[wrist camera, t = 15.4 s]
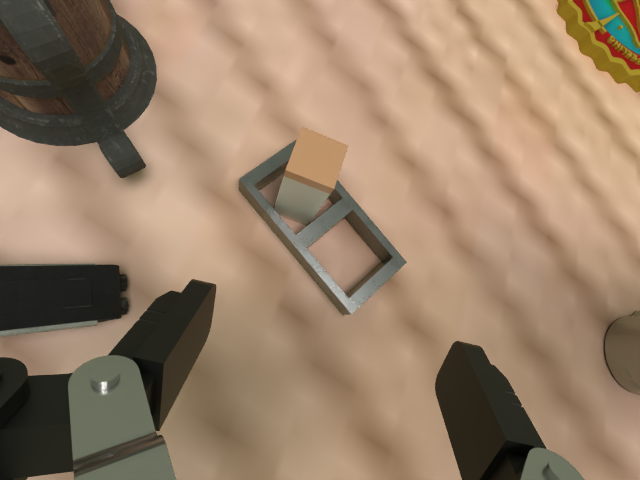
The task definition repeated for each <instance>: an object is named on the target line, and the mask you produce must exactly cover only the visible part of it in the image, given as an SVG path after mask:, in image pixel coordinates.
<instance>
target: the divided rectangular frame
mask: <svg viewBox="0 0 640 480" xmlns="http://www.w3.org/2000/svg"><path fill="white" fill-rule="evenodd" d="M296 141H297V140H295V141H294V142H292V143H291V144H289V145H288V146H287V147H285V148H284V149H282V150H281V151H279V152H278V153H276V154H275V155H273V156H272V157H271V158H269V159H268V160H266V161H265V162H263V163H262V164H260V165H259V166H257V167H256V168H255V169H253V170H252V171H250V172H249V173H247V174H246V175H244V176H243V177H241V178H240V179H239V191H240V192H241V193H242V194H243V196H244V197H245V198H246V199H247V200H248V202H249V203H250V204H251V205H252V206H253V208H254V209H255V210H256V211H257V212H258V214H259V215H260V216H261V217H262V218H263V220H264V221H265V222H266V223H267V224H268V226H269V227H270V228H271V229H272V230H273V232H274V233H275V234H276V235H277V236H278V238H279V239H280V240H281V241H282V242H283V244H284V245H285V246H286V247H287V248H288V250H289V251H290V252H291V253H292V254H293V256H294V257H295V258H296V259H297V260H298V262H299V263H300V264H301V265H302V266H303V268H304V269H305V270H306V271H307V272H308V274H309V275H310V276H311V277H312V278H313V280H314V281H315V282H316V283H317V284H318V286H319V287H320V288H321V289H322V290H323V292H324V293H325V294H326V295H327V296H328V298H329V299H330V300H331V301H332V302H333V304H334V305H335V306H336V307H337V308H338V310H339V311H340V312H341V313H342V314H343V315H350V314H353V313H354V312H355V311H356V310H357V309H358V308H359V307H360V306H361V305H362V304H363V303H364V302H365V301H366V300H367V299H368V298H370V297H371V296H372V295H373V294H374V293H375V292H376V291H377V290H378V289H379V288H380V287H381V286H382V285H383V284H384V283H385V282H386V281H388V280H389V279H390V278H391V277H392V276H393V275H394V274H395V273H396V272H397V271H398V270H399V269H400V268H401V267H402V266H403V265H404V264H406V263H407V262H406V261H405V260H404V258H403V257H402V256H401V255H400V254H399V253H398V251H397V250H396V249H395V248H394V247H393V245H392V244H391V243H390V242H389V241H388V239H387V238H386V237H385V236H384V235H383V234H382V232H381V231H380V230H379V229H378V228H377V226H376V225H375V224H374V223H373V222H372V221H371V219H370V218H369V217H368V216H367V215H366V213H365V212H364V211H363V210H362V209H361V207H360V206H359V205H358V204H357V203H356V202H355V200H354V199H353V198H352V197H351V196H350V194H349V193H348V192H347V191H346V190H345V188H344V187H343V186H342V185H341V184H340V183H339V181H338V180H337V182H336V185H335V188H334V190H333V191H332V193H331V194H330V195H329V197H328V198H329V199H330V201H331V202H332V203H333V204H334V205H333V206H332V207H331V208H329V209H328V210H327V211H326V212H324V213H323V214H322V215H320V216H319V217H318V218H317V219H315V220H314V221H313V222H312V223H310V224H309V225H308V226H307V227H305V228H304V229H303V230H302V231H300V232H299V233H298V234H297V235H295V233H294V232H293V231H292V230H291V229H290V227H289V226H288V225H287V224H286V223H285V221H284V220H283V219H282V218H281V217H280V216H279V214H278V213H277V212H276V211H275V210H274V208H273V207H272V206H271V205H270V204H269V202H268V201H267V200H266V199H265V198H264V196H263V195H262V194H261V193H260V192H259V190H261V189H262V188H263V187H265V186H266V185H268V184H269V183H270V182H272V181H273V180H275V179H276V178H277V177H279V176H280V175H282V174H283V173H284V172H285V170H286V167H287V165H288V162H289V159H290V157H291V154H292V151H293V149H294V146H295V143H296ZM344 218H345V219H346V220H347V221H348V222H349V223H350V224H351V226H352V227H353V228H354V229H355V230H356V232H357V233H358V234H359V235H360V236H361V238H362V239H363V240H364V241H365V242H366V244H367V245H368V246H369V247H370V248H371V249H372V251H373V252H374V253H375V254H376V255H377V257H378V258H379V259H380V260H381V261H382V262H381V263H380V264H379V265H378V266H377V267H376V268H375V269H374V270H373V271H372V272H371V273H369V274H368V275H367V276H366V277H365V278H364V279H363V280H362V281H361V282H360V283H359V284H357V285H356V286H355V287H354V288H353V289H352V290H351V291H350V292H349V293H348V294H347V295H345V293H344V292H343V291H342V290H341V289H340V287H339V286H338V285H337V284H336V283H335V281H334V280H333V279H332V278H331V277H330V275H329V274H328V273H327V272H326V271H325V269H324V268H323V267H322V266H321V265H320V263H319V262H318V261H317V260H316V259H315V257H314V256H313V255H312V254H311V253H310V251H309V250H308V249H307V248H308V247H309V246H311V245H312V244H313V243H314V242H316V241H317V240H318V239H319V238H320V237H322V236H323V235H324V234H325V233H326V232H328V231H329V230H330V229H331V228H333V227H334V226H335V225H336V224H337V223H339V222H340V221H341V220H342V219H344Z"/></svg>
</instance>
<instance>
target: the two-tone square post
mask: <svg viewBox="0 0 640 480" xmlns="http://www.w3.org/2000/svg"><path fill="white" fill-rule="evenodd" d="M347 148H348V145H346V144H343V143H341V142H338V141H336V140H334V139H331V138H329V137H326V136H324V135H321V134H319V133H317V132H314V131H312V130H309V129H307V128H304V127H301V130H300V133H299V135H298V138H297V141H296V143H295V146H294V149H293V151H292V154H291V157H290V159H289V162H288V165H287V167H286V170H285V173H284V176H283V180H282V183H281V186H280V189H279V192H278V196H277V199H276V202H275V205H274V210H275V211H276V212H277V213H278V214H279V215H281V216H283V217H286V218H289V219H291V220H294V221H297V222H299V223H302V224H305V225H308V224H309V223H310V221H311V220H312V219H313V217H314V216H315V215H316V213H317V212H318V210H319V209H320V208H321V206H322V205H323V204H324V202H325V201H326V199H327V198H328V197H329V195H330V194H331V193H332V191H333V190H334V188H335V185H336V182H337V179H338V176H339V173H340V170H341V167H342V163H343V160H344V157H345V154H346V151H347Z"/></svg>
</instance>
